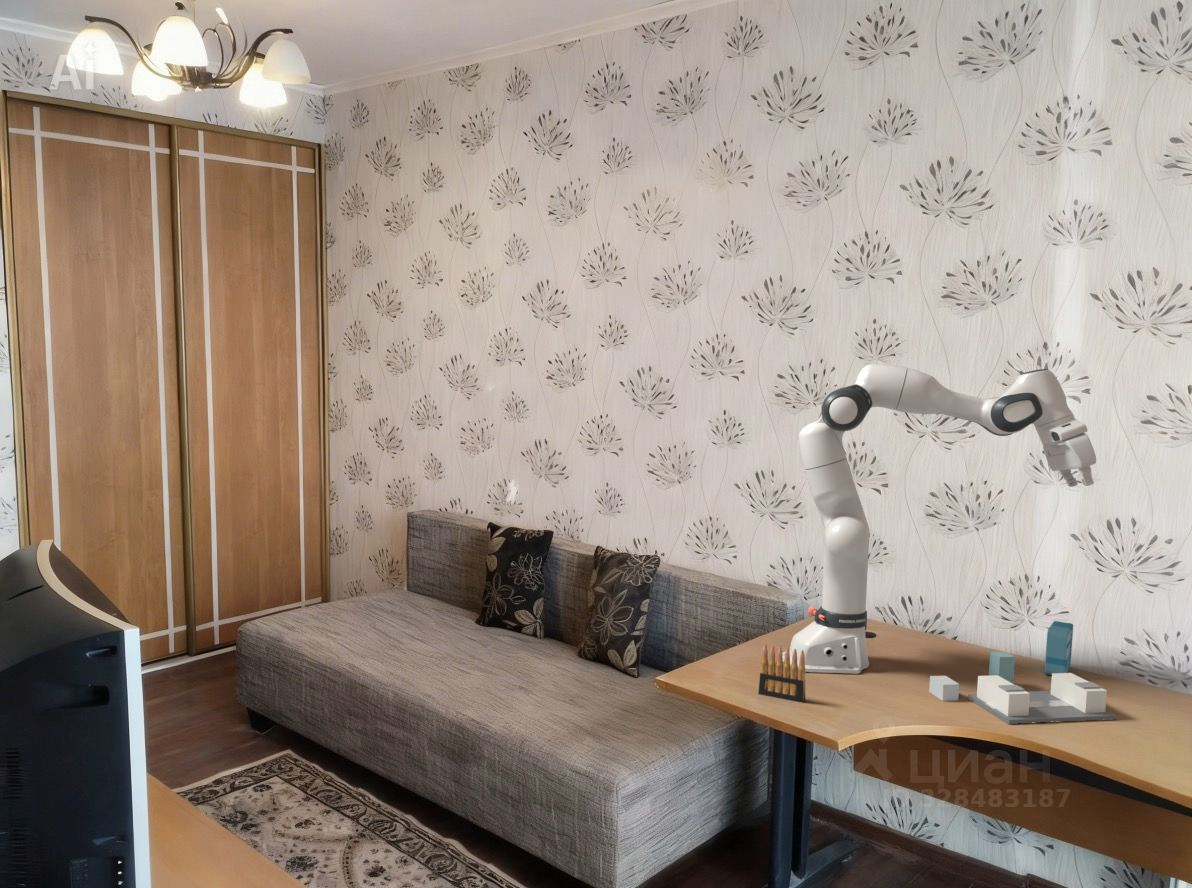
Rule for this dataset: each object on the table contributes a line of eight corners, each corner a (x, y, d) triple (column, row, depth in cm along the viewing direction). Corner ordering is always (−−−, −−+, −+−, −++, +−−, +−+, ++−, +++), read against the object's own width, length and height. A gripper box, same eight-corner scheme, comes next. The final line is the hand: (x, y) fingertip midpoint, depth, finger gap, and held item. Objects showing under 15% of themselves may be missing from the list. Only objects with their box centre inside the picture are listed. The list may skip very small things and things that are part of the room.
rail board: (1008, 724, 202) (1009, 719, 202) (967, 698, 217) (968, 693, 217) (1115, 719, 206) (1115, 714, 206) (1067, 694, 222) (1067, 689, 222)
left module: (1007, 716, 204) (1009, 692, 203) (976, 696, 215) (978, 674, 215) (1028, 715, 205) (1030, 691, 204) (996, 696, 216) (997, 673, 216)
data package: (1063, 679, 233) (1067, 632, 232) (1044, 675, 235) (1047, 629, 234) (1070, 667, 243) (1073, 622, 242) (1051, 663, 245) (1054, 619, 244)
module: (997, 689, 224) (999, 657, 223) (988, 683, 228) (990, 652, 227) (1012, 688, 225) (1015, 656, 224) (1003, 683, 229) (1005, 651, 228)
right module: (1085, 713, 207) (1086, 689, 206) (1050, 694, 219) (1052, 671, 218) (1105, 712, 208) (1106, 688, 207) (1069, 693, 219) (1071, 671, 219)
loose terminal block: (942, 701, 215) (943, 684, 215) (929, 692, 221) (930, 676, 221) (958, 700, 216) (959, 684, 216) (944, 691, 222) (945, 675, 221)
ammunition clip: (805, 700, 213) (807, 649, 212) (803, 702, 212) (805, 651, 211) (760, 691, 218) (762, 642, 217) (758, 694, 217) (760, 644, 216)
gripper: (1031, 439, 235) (1052, 491, 233) (1062, 433, 214) (1085, 489, 213) (1055, 431, 234) (1076, 482, 233) (1088, 423, 214) (1112, 479, 212)
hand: (1081, 485), depth 223 cm, fingers open, 8 cm apart
